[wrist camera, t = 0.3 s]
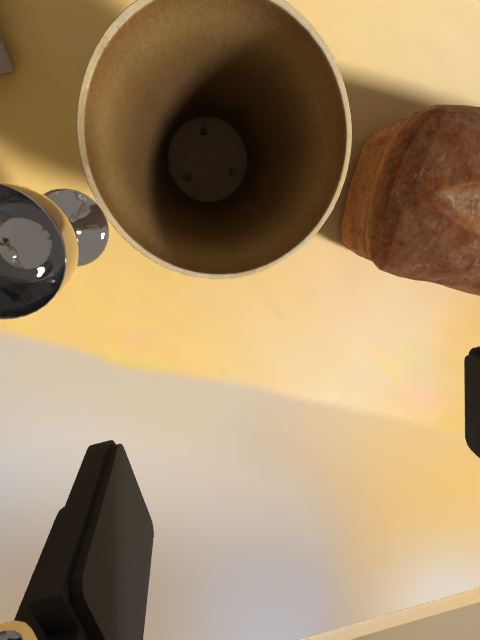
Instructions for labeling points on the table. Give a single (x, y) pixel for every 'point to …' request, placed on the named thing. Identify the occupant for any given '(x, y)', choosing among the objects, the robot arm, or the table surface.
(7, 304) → the wine glass
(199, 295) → the table surface
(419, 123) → the bread
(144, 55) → the plant pot
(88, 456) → the robot arm
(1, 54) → the console
